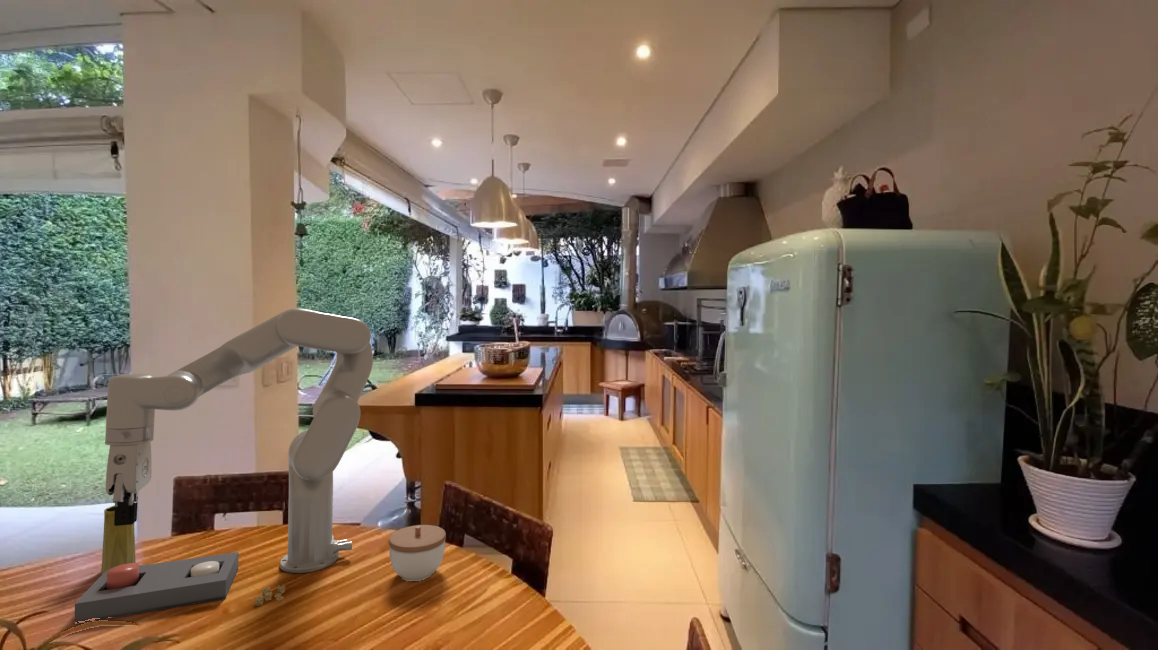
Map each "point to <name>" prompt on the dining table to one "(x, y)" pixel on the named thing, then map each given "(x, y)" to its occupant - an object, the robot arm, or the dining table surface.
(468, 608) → the dining table surface
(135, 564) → the red button
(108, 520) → the vase
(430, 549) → the lidded bowl
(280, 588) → the dice set
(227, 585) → the button panel
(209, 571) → the ivory button
